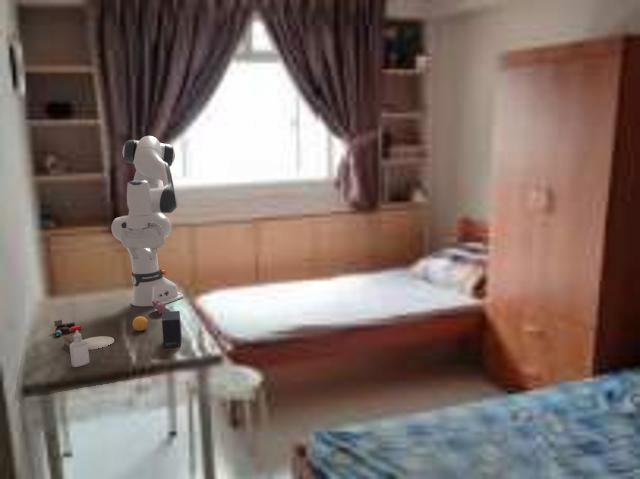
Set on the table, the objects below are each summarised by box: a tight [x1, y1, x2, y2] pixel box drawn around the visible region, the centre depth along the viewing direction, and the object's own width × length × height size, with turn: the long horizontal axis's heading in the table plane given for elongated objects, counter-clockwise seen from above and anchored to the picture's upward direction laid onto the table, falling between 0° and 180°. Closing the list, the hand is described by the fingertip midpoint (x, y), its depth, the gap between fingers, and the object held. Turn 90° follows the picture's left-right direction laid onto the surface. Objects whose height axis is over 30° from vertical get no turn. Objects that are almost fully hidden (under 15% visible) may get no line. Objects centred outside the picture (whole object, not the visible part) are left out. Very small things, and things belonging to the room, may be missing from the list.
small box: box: [161, 310, 182, 349], centre depth 228 cm, size 11×6×10 cm, turn 12°
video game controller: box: [151, 299, 171, 315], centre depth 263 cm, size 10×5×7 cm, turn 28°
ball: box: [132, 315, 149, 332], centre depth 242 cm, size 6×6×6 cm
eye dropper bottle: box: [69, 330, 90, 368], centre depth 210 cm, size 4×6×12 cm
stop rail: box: [63, 334, 74, 348], centre depth 226 cm, size 2×14×3 cm, turn 42°
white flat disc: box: [83, 335, 115, 351], centre depth 231 cm, size 13×13×1 cm
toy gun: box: [53, 319, 82, 338], centre depth 244 cm, size 10×12×5 cm
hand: (144, 259), depth 237 cm, fingers open, 8 cm apart
